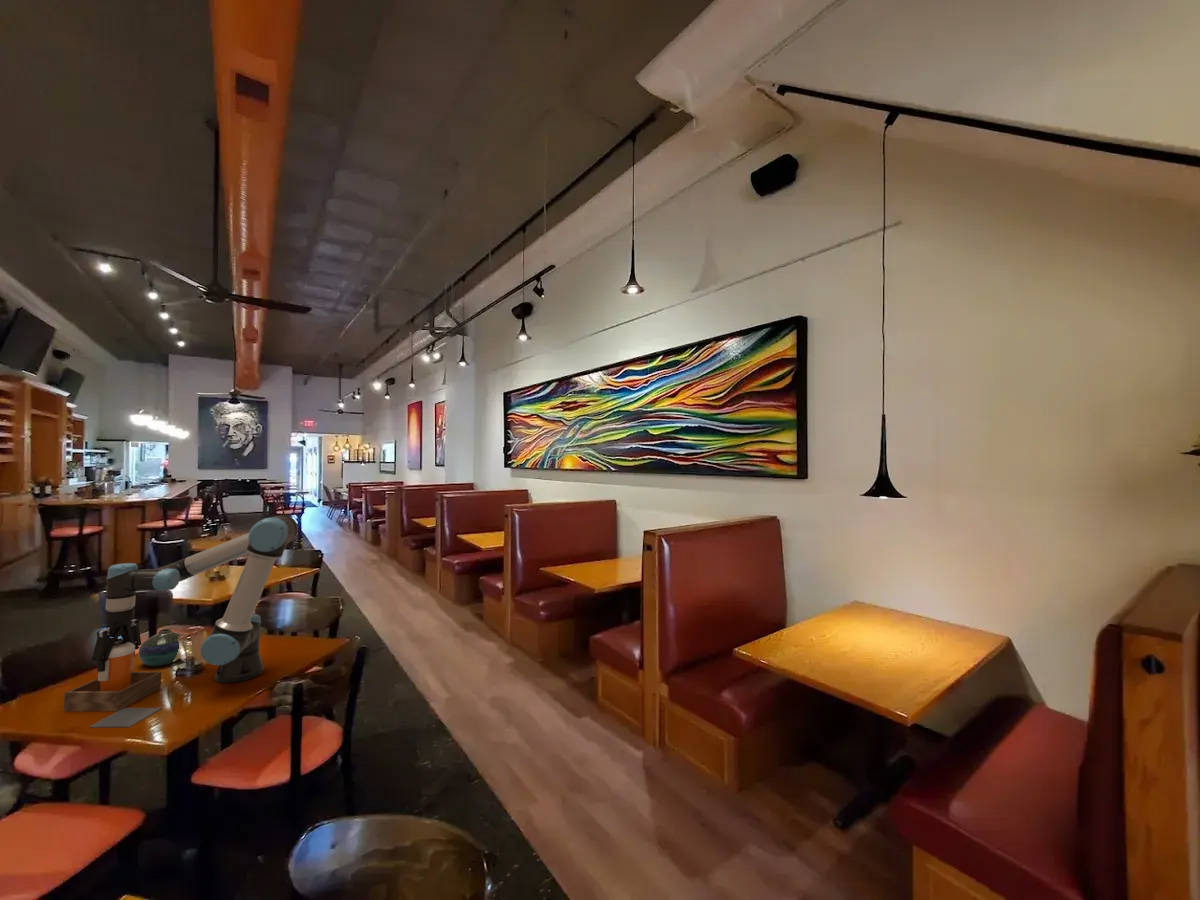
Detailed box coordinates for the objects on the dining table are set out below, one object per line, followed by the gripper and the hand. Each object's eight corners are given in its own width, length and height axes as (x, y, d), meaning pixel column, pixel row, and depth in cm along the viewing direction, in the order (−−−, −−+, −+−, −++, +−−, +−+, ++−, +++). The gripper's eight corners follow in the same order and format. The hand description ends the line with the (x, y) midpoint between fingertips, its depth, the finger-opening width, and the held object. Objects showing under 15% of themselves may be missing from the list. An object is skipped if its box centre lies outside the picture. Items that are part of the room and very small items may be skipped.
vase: (140, 661, 205) (142, 628, 205) (188, 653, 214) (190, 622, 214) (134, 674, 192) (136, 639, 193) (185, 665, 201) (187, 632, 202)
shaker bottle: (109, 706, 166) (113, 646, 167) (89, 703, 168) (92, 643, 169) (139, 695, 175) (142, 637, 176) (119, 692, 177) (122, 635, 178)
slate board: (161, 708, 166) (161, 707, 166) (129, 727, 154) (129, 726, 154) (123, 708, 165) (123, 707, 165) (88, 727, 153) (89, 726, 153)
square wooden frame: (160, 688, 181) (161, 671, 181) (118, 711, 164) (119, 692, 164) (111, 688, 180) (112, 671, 180) (63, 711, 163) (64, 692, 163)
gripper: (135, 600, 183) (132, 662, 182) (78, 618, 162) (73, 688, 161) (157, 600, 184) (153, 662, 183) (102, 618, 162) (97, 688, 161)
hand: (116, 674), depth 172 cm, fingers closed on shaker bottle, 9 cm apart
